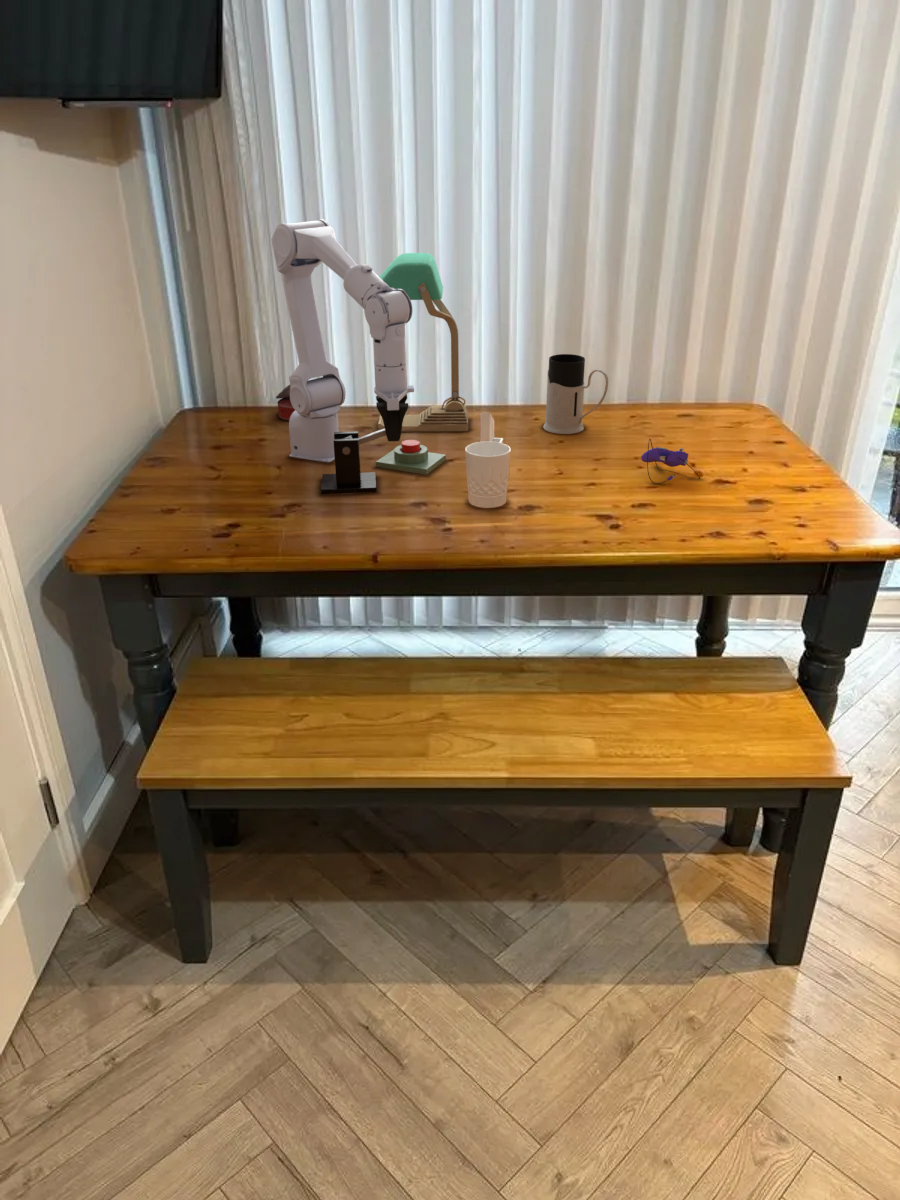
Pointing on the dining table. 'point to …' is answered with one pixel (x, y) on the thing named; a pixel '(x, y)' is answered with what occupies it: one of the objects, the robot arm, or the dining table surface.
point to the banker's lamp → (425, 284)
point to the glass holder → (567, 394)
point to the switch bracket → (347, 468)
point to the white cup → (487, 473)
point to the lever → (369, 436)
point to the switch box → (411, 460)
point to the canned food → (285, 404)
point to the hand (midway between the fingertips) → (393, 437)
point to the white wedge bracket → (487, 428)
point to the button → (410, 446)
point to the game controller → (666, 458)
